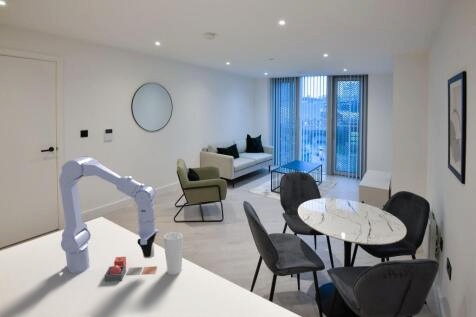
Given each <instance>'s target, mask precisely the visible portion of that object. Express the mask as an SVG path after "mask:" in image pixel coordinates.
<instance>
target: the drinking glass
mask: <svg viewBox="0 0 476 317" xmlns="http://www.w3.org/2000/svg"><path fill="white" fill-rule="evenodd" d="M183 240H184V239H183V234H182V233H181V232H178V231H172V232H167V233H166V234H164V236H163V246H164V254H165V261H166V271H167V274H168V275H172V276H173V275H179V274H180V273H182V271H183V268H182V267H183V264H182V263H183V252H184V251H183V250H184V249H183V248H184V247H183V246H184V242H183Z"/></svg>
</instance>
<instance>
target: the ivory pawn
mask: <svg viewBox="0 0 476 317" xmlns="http://www.w3.org/2000/svg"><path fill="white" fill-rule="evenodd" d="M142 257H143V258H144V259H152V258H154V257H155V241H154V242H153V244H152V249H151V256H150V257H144V255H143V254H142Z"/></svg>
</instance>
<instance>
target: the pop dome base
mask: <svg viewBox="0 0 476 317" xmlns="http://www.w3.org/2000/svg"><path fill="white" fill-rule="evenodd" d="M112 266H113V265H112ZM112 266H111V265H110V266H109V267H108V269H107V270H106V272H105V274H104V282H116V281H117V282H121V281H123V279H124V277H125V276H126V274H127V265H126V266H119V267H120V268H121V274H110V269H111V267H112Z"/></svg>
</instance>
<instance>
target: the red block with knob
mask: <svg viewBox="0 0 476 317" xmlns="http://www.w3.org/2000/svg"><path fill="white" fill-rule="evenodd" d="M113 264H114V265H118V266H126V267H127V256H116V257H115V259H114V261H113ZM114 265H113V266H114Z"/></svg>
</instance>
